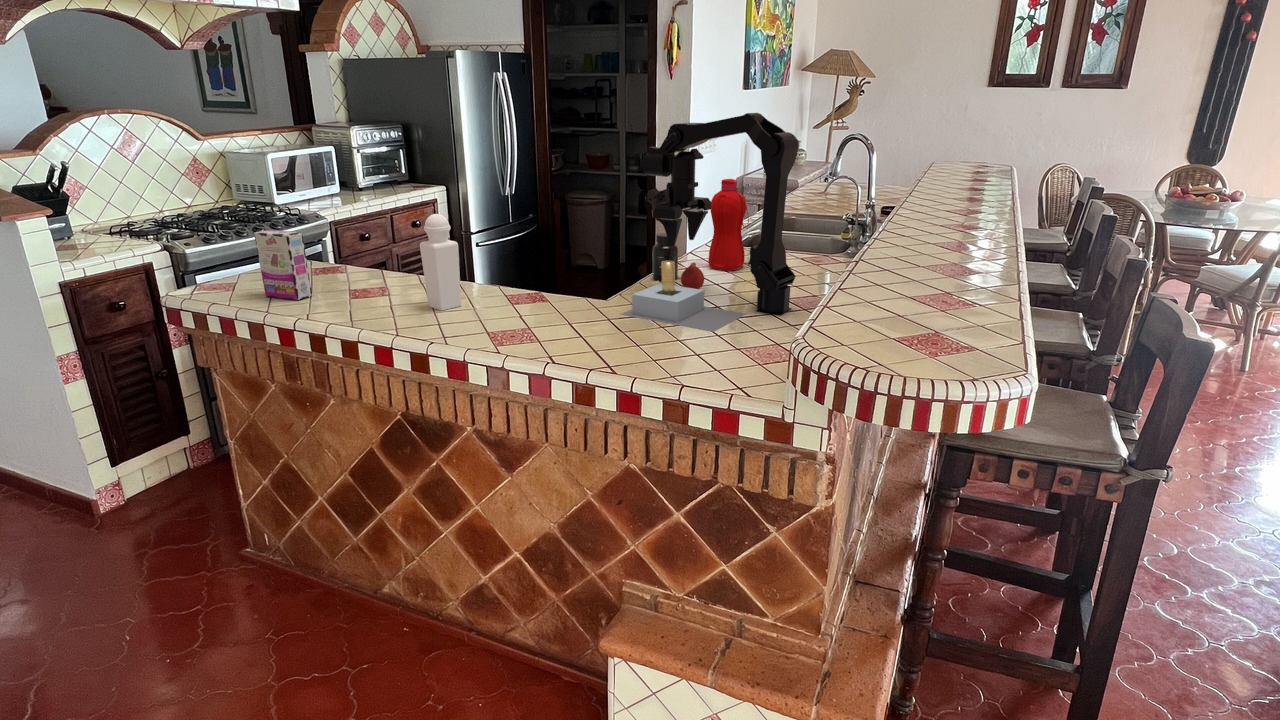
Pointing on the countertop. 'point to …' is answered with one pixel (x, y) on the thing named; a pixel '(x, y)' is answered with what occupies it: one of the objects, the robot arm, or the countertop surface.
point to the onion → (692, 277)
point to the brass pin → (668, 277)
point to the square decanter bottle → (440, 264)
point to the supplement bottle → (663, 255)
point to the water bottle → (727, 227)
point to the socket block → (668, 303)
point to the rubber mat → (699, 319)
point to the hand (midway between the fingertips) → (681, 243)
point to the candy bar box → (283, 264)
